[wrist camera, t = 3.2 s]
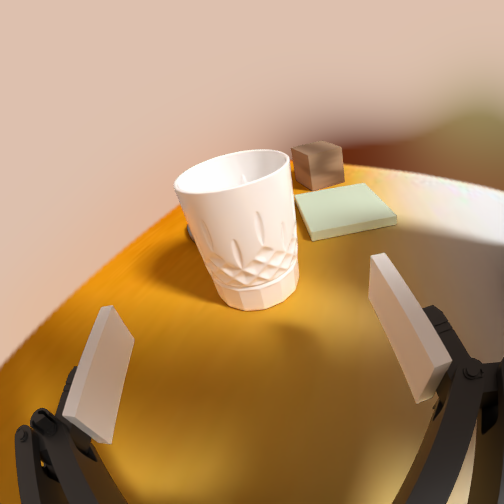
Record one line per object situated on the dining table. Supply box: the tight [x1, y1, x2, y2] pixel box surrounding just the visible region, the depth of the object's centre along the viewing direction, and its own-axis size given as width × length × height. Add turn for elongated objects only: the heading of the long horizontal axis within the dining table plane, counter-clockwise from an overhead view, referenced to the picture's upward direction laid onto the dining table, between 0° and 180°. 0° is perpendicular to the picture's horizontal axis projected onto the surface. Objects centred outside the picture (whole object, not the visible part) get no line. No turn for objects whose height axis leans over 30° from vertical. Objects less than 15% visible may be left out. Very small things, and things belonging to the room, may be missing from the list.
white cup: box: [174, 150, 299, 311], centre depth 22 cm, size 8×8×10 cm
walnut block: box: [291, 141, 345, 191], centre depth 39 cm, size 5×5×5 cm
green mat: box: [294, 183, 397, 241], centre depth 31 cm, size 9×9×1 cm
